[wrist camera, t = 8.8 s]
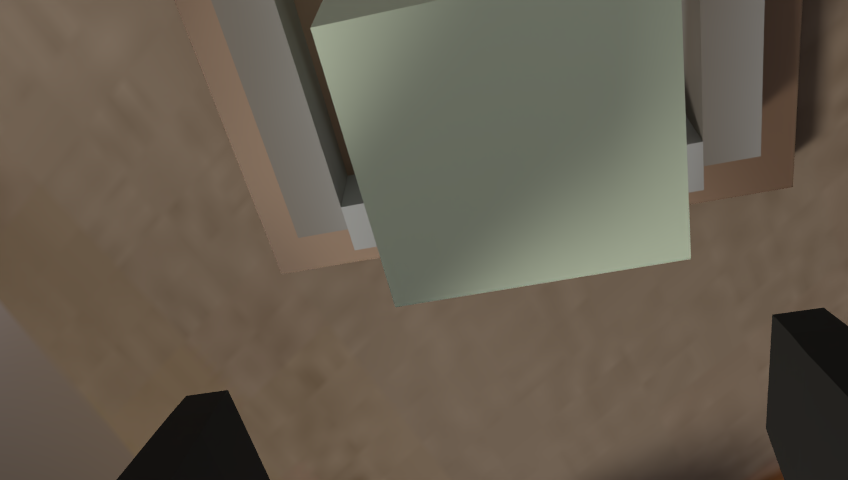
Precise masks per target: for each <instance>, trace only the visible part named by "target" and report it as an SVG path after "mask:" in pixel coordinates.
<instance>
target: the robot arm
mask: <svg viewBox="0 0 848 480" xmlns="http://www.w3.org/2000/svg"><path fill="white" fill-rule="evenodd" d="M766 430H767V432H768V435H769V438H770V441H771V444H772V447H773V449H774V452H775V455H776V458H777V461H778V463H779V466H780V469H781V472H782V474H783V477H784V480H848V326H847V325H846V324H844V323H843V322H842V321H840V320H839V319H838V318H837V317H835V316H834V315H833V314H831V313H830V312H829V311H827V310H826V309H825V308H818V309H811V310H804V311H796V312H789V313H782V314H775V315H772V332H771V349H770V367H769V385H768V402H767V420H766ZM117 480H270V479H269V477H268V475H267V473H266V470H265V468H264V466H263V464H262V462H261V460H260V458H259V456H258V453H257V451H256V449H255V447H254V445H253V443H252V441H251V438H250V436H249V434H248V432H247V430H246V428H245V426H244V424H243V421H242V419H241V417H240V415H239V413H238V411H237V409H236V407H235V404H234V402H233V400H232V398H231V396H230V394H229V392H228V390H226V391H219V392H211V393H204V394H197V395H190V396H186V397H185V398H184V399H183V400H182V401H181V403H180V404H179V405H178V406H177V407H176V408H175V409H174V411H173V412H172V413H171V414H170V415H169V417H168V418H167V419H166V420H165V421H164V423H163V424H162V425H161V426H160V427H159V429H158V430H157V431H156V432H155V433H154V435H153V436H152V437H151V438H150V440H149V441H148V442H147V443H146V444H145V446H144V447H143V448H142V449H141V451H140V452H139V453H138V454H137V456H136V457H135V458H134V459H133V460H132V462H131V463H130V464H129V465H128V467H127V468H126V469H125V470H124V472H123V473H122V474H121V475H120V476H119V477H118V479H117Z"/></svg>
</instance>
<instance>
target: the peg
mask: <svg viewBox="0 0 848 480" xmlns="http://www.w3.org/2000/svg"><path fill="white" fill-rule="evenodd" d="M310 29H311V32H312V35H313V39H314V42H315V45H316V48H317V52H318V55H319V58H320V62H321V65H322V68H323V71H324V75H325V78H326V81H327V85H328V88H329V91H330V94H331V98H332V101H333V104H334V107H335V111H336V114H337V117H338V121H339V124H340V127H341V130H342V134H343V137H344V140H345V144H346V147H347V150H348V153H349V157H350V160H351V163H352V166H353V170H354V173H355V176H356V180H357V183H358V186H359V189H360V193H361V196H362V199H363V203H364V206H365V209H366V212H367V216H368V219H369V222H370V225H371V229H372V232H373V235H374V239H375V242H376V245H377V248H378V252H379V255H380V258H381V262H382V265H383V268H384V271H385V275H386V278H387V281H388V284H389V288H390V291H391V294H392V298H393V301H394V304H395V307H400V306H406V305H412V304H418V303H424V302H430V301H436V300H442V299H449V298H455V297H461V296H467V295H473V294H479V293H485V292H491V291H497V290H503V289H510V288H516V287H522V286H528V285H534V284H540V283H546V282H552V281H558V280H565V279H571V278H577V277H583V276H589V275H595V274H601V273H607V272H613V271H619V270H626V269H632V268H638V267H644V266H650V265H656V264H662V263H668V262H674V261H681V260H687V259H691V248H690V221H689V193H688V166H687V139H686V111H685V84H684V56H683V29H682V1H681V0H323V1H322V3H321V5H320V7H319V10H318V12H317V14H316V16H315V19H314V21H313V23H312V25H311V27H310Z"/></svg>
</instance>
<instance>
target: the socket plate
mask: <svg viewBox="0 0 848 480" xmlns="http://www.w3.org/2000/svg"><path fill="white" fill-rule="evenodd" d="M174 1H175V4H176V6H177V9H178V11H179V14H180V16H181V19H182V21H183V24H184V27H185V29H186V32H187V34H188V37H189V39H190V42H191V44H192V47H193V49H194V52H195V55H196V57H197V60H198V62H199V65H200V67H201V70H202V72H203V75H204V78H205V80H206V83H207V85H208V88H209V90H210V93H211V95H212V98H213V100H214V103H215V106H216V108H217V111H218V113H219V116H220V118H221V121H222V123H223V126H224V128H225V131H226V134H227V136H228V139H229V141H230V144H231V146H232V149H233V151H234V154H235V156H236V159H237V162H238V164H239V167H240V169H241V172H242V174H243V177H244V179H245V182H246V184H247V187H248V190H249V192H250V195H251V197H252V200H253V202H254V205H255V207H256V210H257V212H258V215H259V218H260V220H261V223H262V225H263V228H264V230H265V233H266V235H267V238H268V240H269V243H270V246H271V248H272V251H273V253H274V256H275V258H276V261H277V263H278V266H279V268H280V271H281V274H287V273H292V272H298V271H304V270H310V269H316V268H322V267H328V266H333V265H339V264H345V263H351V262H357V261H363V260H368V259H374V258H380V255H379V252H378V248H377V245H376V242H375V239H374V235H373V232H372V229H371V225H370V222H369V219H368V216H367V212H366V209H365V206H364V203H363V199H362V196H361V193H360V189H359V186H358V183H357V180H356V176H355V173H354V170H353V166H352V163H351V160H350V157H349V153H348V150H347V147H346V144H345V140H344V137H343V134H342V130H341V127H340V124H339V121H338V117H337V114H336V111H335V107H334V104H333V101H332V98H331V94H330V91H329V88H328V85H327V81H326V78H325V75H324V71H323V68H322V65H321V62H320V58H319V55H318V52H317V48H316V45H315V42H314V39H313V35H312V32H311V29H310V27H311V25H312V23H313V21H314V19H315V16H316V14H317V12H318V10H319V7H320V5H321V3H322V1H323V0H174ZM681 1H682V29H683V56H684V84H685V111H686V139H687V166H688V193H689V205H690V204H696V203H702V202H708V201H714V200H719V199H725V198H731V197H737V196H743V195H749V194H755V193H760V192H766V191H772V190H778V189H784V188H790V187H793V174H794V154H795V135H796V116H797V97H798V77H799V58H800V39H801V20H802V0H681Z"/></svg>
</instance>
